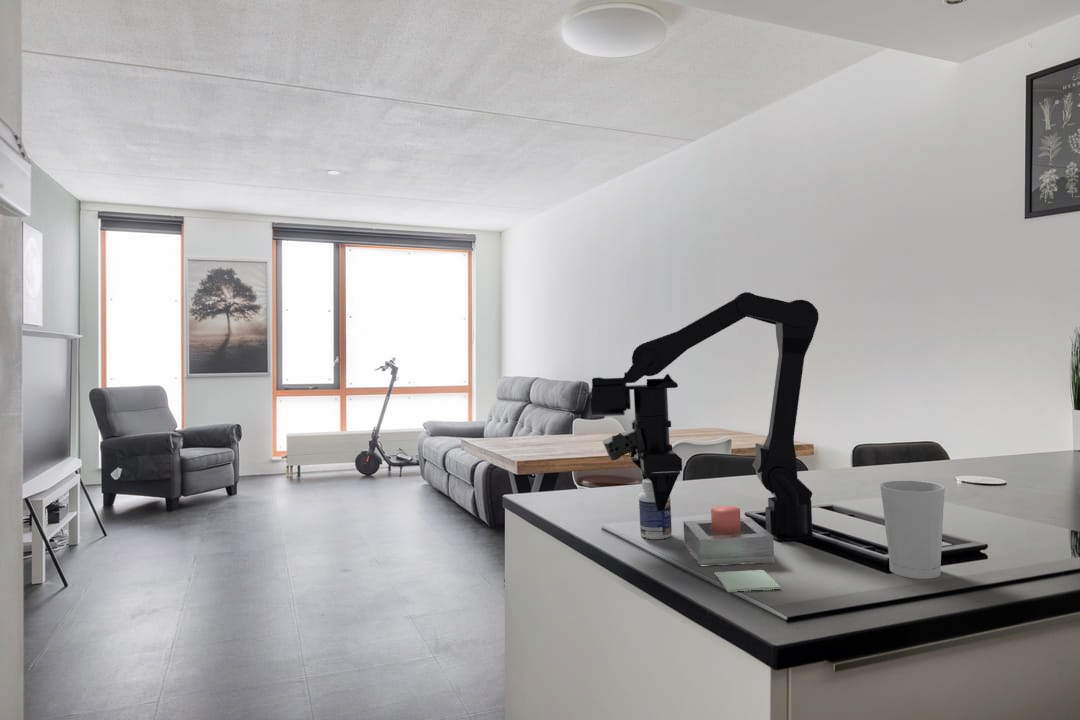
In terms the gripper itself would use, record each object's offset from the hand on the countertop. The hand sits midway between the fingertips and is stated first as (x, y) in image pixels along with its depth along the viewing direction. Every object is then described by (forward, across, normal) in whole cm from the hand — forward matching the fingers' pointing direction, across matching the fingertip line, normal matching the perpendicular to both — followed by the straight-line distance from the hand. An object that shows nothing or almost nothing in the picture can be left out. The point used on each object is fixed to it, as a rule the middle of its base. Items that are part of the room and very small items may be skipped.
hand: (655, 504), depth 122 cm
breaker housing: (+6, +12, +9) cm, 16 cm away
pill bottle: (+6, 0, 0) cm, 6 cm away
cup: (+6, +24, +32) cm, 40 cm away
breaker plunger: (+2, +12, +9) cm, 15 cm away
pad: (+6, +25, +8) cm, 27 cm away
